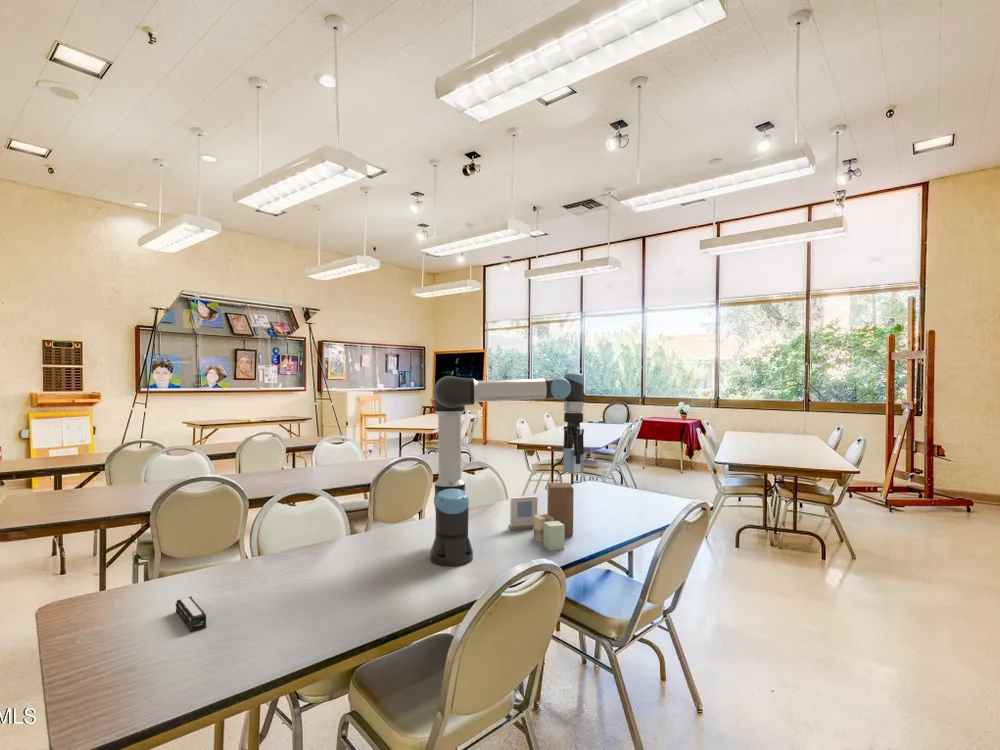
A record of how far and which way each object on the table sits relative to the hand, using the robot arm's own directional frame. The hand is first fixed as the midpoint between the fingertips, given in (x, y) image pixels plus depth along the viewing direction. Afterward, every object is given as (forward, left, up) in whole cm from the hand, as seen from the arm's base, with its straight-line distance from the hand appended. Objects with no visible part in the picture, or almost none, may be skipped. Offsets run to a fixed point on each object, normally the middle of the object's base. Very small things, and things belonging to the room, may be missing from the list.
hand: (573, 470), depth 198 cm
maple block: (-10, +6, -28) cm, 30 cm away
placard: (-12, +23, -28) cm, 38 cm away
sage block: (-10, -4, -28) cm, 30 cm away
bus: (-125, -32, -29) cm, 132 cm away
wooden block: (0, +12, -28) cm, 30 cm away
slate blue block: (0, 0, 0) cm, 1 cm away
